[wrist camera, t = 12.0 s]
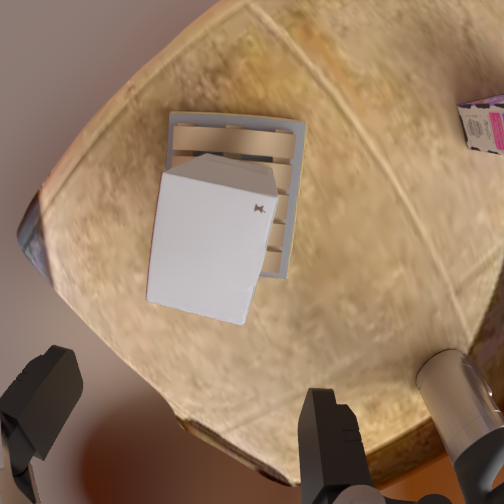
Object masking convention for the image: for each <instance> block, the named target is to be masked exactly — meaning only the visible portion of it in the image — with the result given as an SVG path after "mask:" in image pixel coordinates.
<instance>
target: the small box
mask: <svg viewBox="0 0 504 504" xmlns="http://www.w3.org/2000/svg"><path fill="white" fill-rule="evenodd" d="M278 200H279V196H278V191H277V187H276V182H275V178H274V172H273V169H272V168H268V167H264V166H260V165H256V164H252V163H248V162H243V161H239V160H235V159H230V158H226V157H222V156H217V155H213V154H208V153H206V154H204V155H201V156H199V157H196V158H194V159H191V160H189V161H187V162H185V163H182V164H180V165H178V166H176V167H173V168H171V169H169V170H167V171H165V172H163V173H162V174H161V179H160V185H159V191H158V197H157V204H156V211H155V218H154V225H153V233H152V240H151V249H150V257H149V267H148V278H147V289H146V301H148V302H152V303H155V304H159V305H162V306H166V307H170V308H174V309H178V310H181V311H185V312H189V313H193V314H197V315H201V316H205V317H208V318H212V319H216V320H220V321H224V322H228V323H232V324H236V325H240V326H242V325H243V324H244V323H245V320H246V317H247V314H248V311H249V307H250V304H251V301H252V297H253V294H254V291H255V287H256V284H257V281H258V278H259V274H260V271H261V268H262V265H263V261H264V257H265V254H266V249H267V244H268V240H269V236H270V232H271V228H272V224H273V220H274V217H275V213H276V208H277V204H278Z"/></svg>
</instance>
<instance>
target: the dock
mask: <svg viewBox="0 0 504 504" xmlns="http://www.w3.org/2000/svg"><path fill="white" fill-rule="evenodd" d="M178 123H191V124H197V127H212V128H226V125H231V126H244V130H254V131H265V132H274V133H275V130H285V131H293V135H296V140H295V149H294V158H293V159H290V165H293V167H292V176H291V184H290V189H287V194H289V201H288V209H287V217H286V219H283V223H285V232H284V240H283V247H280V250H281V251H282V255H281V262H280V270H279V273H268V272H260V274H259V276H261V277H271V278H282V279H286V277H288V273H289V266H290V260H291V253H292V246H293V239H294V232H295V224H296V217H297V210H298V202H299V194H300V186H301V178H302V170H303V162H304V153H305V145H306V136H307V126H308V123H306V121H301V120H293V119H285V118H276V117H267V116H256V115H244V114H230V113H212V112H175V111H171V113H170V114H169V127H168V142H167V161H166V171H167V170H169V169H171V167H172V156H176V150H172V148H173V132H174V126H178ZM206 153H208V154H213V155H217V156H222V157H223V156H224V152H212V151H195V156H196V157H199V156H201V155H204V154H206ZM272 159H273V157H271V156H262V155H251V154H242V158H241V160H251V161H261V162H271V163H272Z"/></svg>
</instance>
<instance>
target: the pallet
mask: <svg viewBox="0 0 504 504" xmlns="http://www.w3.org/2000/svg"><path fill="white" fill-rule="evenodd" d="M295 140H296V135H293V131H285V130H275V133H274V132H265V131H254V130H244V126H231V125H226V128H212V127H197V124H191V123H178V126H174V132H173V148H172V150H176V156H172V167H171V168H173V167H176V166H178V165H180V164H182V163H185V162H187V161H189V160H191V159H194V158H196V156H195V151H212V152H224V156H223V157H226V158H230V159H235V160H239V161H243V162H248V163H252V164H256V165H260V166H264V167H268V168H272V169H273V172H274V178H275V182H276V187H277V191H278V196H279V200H278V204H277V208H276V213H275V217H274V220H273V224H272V228H271V232H270V236H269V240H268V244H267V249H266V254H265V257H264V261H263V265H262V268H261V271H260V272H268V273H279V270H280V262H281V255H282V251H281V250H280V247H283V240H284V232H285V223H283V219H286V217H287V209H288V201H289V194H287V189H290V184H291V176H292V167H293V165H290V159H293V158H294V149H295ZM242 154H251V155H262V156H271V157H273V159H272V163H271V162H261V161H251V160H241V158H242Z"/></svg>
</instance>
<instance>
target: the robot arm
mask: <svg viewBox="0 0 504 504" xmlns="http://www.w3.org/2000/svg"><path fill="white" fill-rule="evenodd" d="M416 385H417V387H418V389H419V391H420V393H421V395H422V398H423V400H424V402H425V404H426V406H427V408H428V410H429V413H430V415H431V417H432V419H433V421H434V424H435V426H436V428H437V430H438V432H439V435H440V437H441V439H442V442H443V444H444V446H445V449H446V451H447V453H448V455H449V458H450V460H451V463H452V465H453V467H454V470H455V472H456V475H457V479H458V482H459V485H460V488H461V491H462V494H463V497H464V500H465V503H466V504H504V482H503V483H502V484H500V485H499V486H498V487H496V488H495V489H493V490H492V491H491V486H492V483H493V481H494V479H495V477H496V475H497V473H498V472H499V470H500V469H501V467H502V466H503V464H504V416H503V415H502V413H501V412H500V410H499V408H498V407H497V405H496V404H495V402H494V401H493V399H492V397H491V395H492V391H491V389H490V388H489V386H488V385H487V383H486V382H485V380H484V379H483V377H482V376H481V375H480V373H479V372H478V370H477V369H476V367H475V366H474V365H473V363H472V362H471V360H470V359H469V358H468V356H463V355H462V353H461V352H460V351H458V350H446V351H443V352H441V353H439V354H437V355H435V356H434V357H432V358H431V359H430V360H429V361H428V362H427V363H425V365H424V366H423V367H422V368H421V370H420V371H419V373H418V375H417V379H416ZM82 390H83V380H82V377H81V373H80V370H79V367H78V363H77V360H76V356H75V353H74V352H73V350H70V349H67V348H64V347H60V346H57V345H52V346H51V347H50V348H49V349H48V351H47V352H46V353H45V354H44V355H40V356H38V357H36V358H35V359H33V360H31V361H30V362H29V363H28V364H27V365H26V367H25V368H24V369H23V370H22V373H20V374H19V375H18V376H17V377H16V380H14V381H13V382H12V384H11V385H10V386H9V387H8V389H7V390H6V391H5V393H4V394H3V395H2V396H1V398H0V504H41V501H40V497H39V493H38V489H37V485H36V481H35V476H34V472H33V467H32V464H31V462H30V460H31V458H32V456H35V457H37V458H39V459H41V460H43V461H44V460H45V458H46V456H47V454H48V452H49V450H50V449H51V447H52V445H53V443H54V442H55V440H56V438H57V436H58V434H59V433H60V431H61V429H62V427H63V425H64V424H65V422H66V420H67V419H68V417H69V415H70V413H71V412H72V410H73V408H74V407H75V405H76V403H77V402H78V400H79V398H80V397H81V394H82ZM361 441H362V439H361V435H360V432H359V426H358V422H357V418H356V416H355V414H354V413H353V412H352V410H351V409H350V408H349V407H348V405H347V404H336V399H335V394H334V391H333V389H323V388H309V389H308V392H307V395H306V398H305V401H304V404H303V408H302V411H301V414H300V417H299V422H298V444H299V459H300V475H301V493H302V504H452V503H451V502H450V500H449V499H448V498H446V497H445V496H442V495H439V494H430V495H426V496H424V497H422V498H421V499H420V500H419V501H417V502H413V501H403V500H395V499H390V498H387V497H385V496H383V495H382V494H381V493H380V492H379V491H378V490H377V489H375V487H374V486H373V484H372V482H371V478H370V473H369V469H368V464H367V460H366V456H365V451H364V447H363V443H362V442H361Z"/></svg>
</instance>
